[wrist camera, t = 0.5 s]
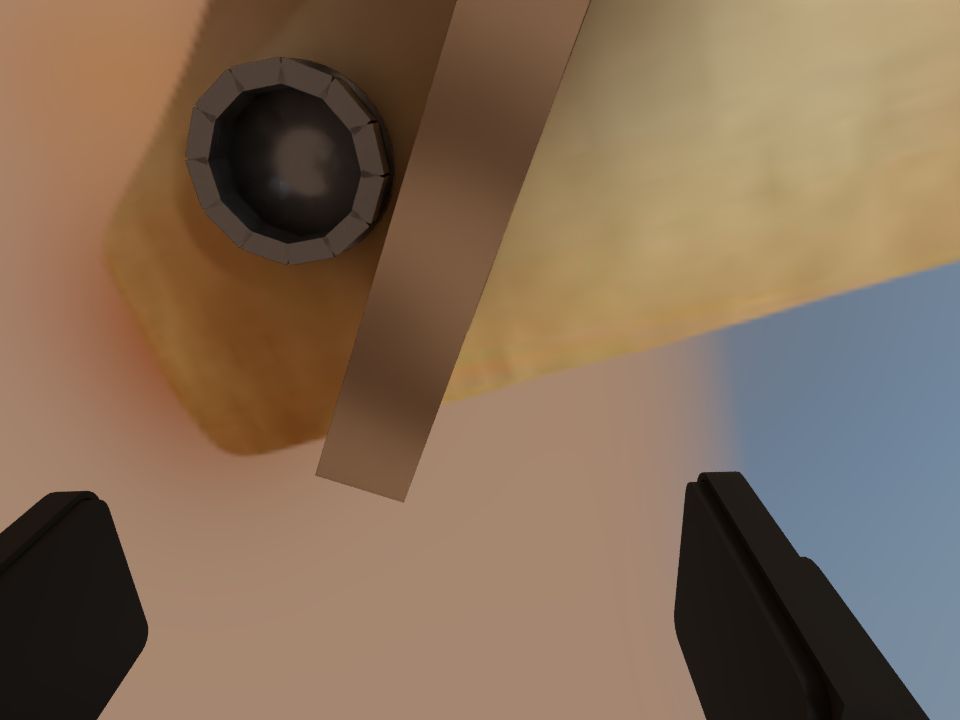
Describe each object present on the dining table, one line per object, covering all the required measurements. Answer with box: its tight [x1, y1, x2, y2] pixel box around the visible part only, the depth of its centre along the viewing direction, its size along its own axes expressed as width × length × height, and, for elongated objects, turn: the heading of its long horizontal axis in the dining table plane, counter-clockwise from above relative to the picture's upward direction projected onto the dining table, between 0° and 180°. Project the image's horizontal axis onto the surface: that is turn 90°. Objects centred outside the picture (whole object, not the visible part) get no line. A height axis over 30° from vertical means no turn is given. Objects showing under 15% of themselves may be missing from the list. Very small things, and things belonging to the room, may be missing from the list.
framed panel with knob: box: [315, 0, 591, 502], centre depth 25 cm, size 24×6×20 cm, turn 160°
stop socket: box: [185, 57, 395, 265], centre depth 34 cm, size 11×11×3 cm
